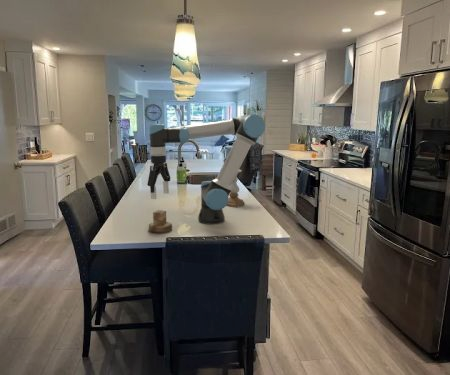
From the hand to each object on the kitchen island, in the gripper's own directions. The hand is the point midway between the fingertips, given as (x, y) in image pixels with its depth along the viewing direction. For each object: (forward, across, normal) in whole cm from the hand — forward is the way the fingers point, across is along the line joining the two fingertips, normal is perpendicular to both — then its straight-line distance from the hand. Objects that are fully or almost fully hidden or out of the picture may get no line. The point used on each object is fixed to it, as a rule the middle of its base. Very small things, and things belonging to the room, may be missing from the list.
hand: (160, 196), depth 191 cm
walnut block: (+15, 0, -1) cm, 15 cm away
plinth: (+18, 0, 0) cm, 18 cm away
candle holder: (+19, -67, +20) cm, 72 cm away
